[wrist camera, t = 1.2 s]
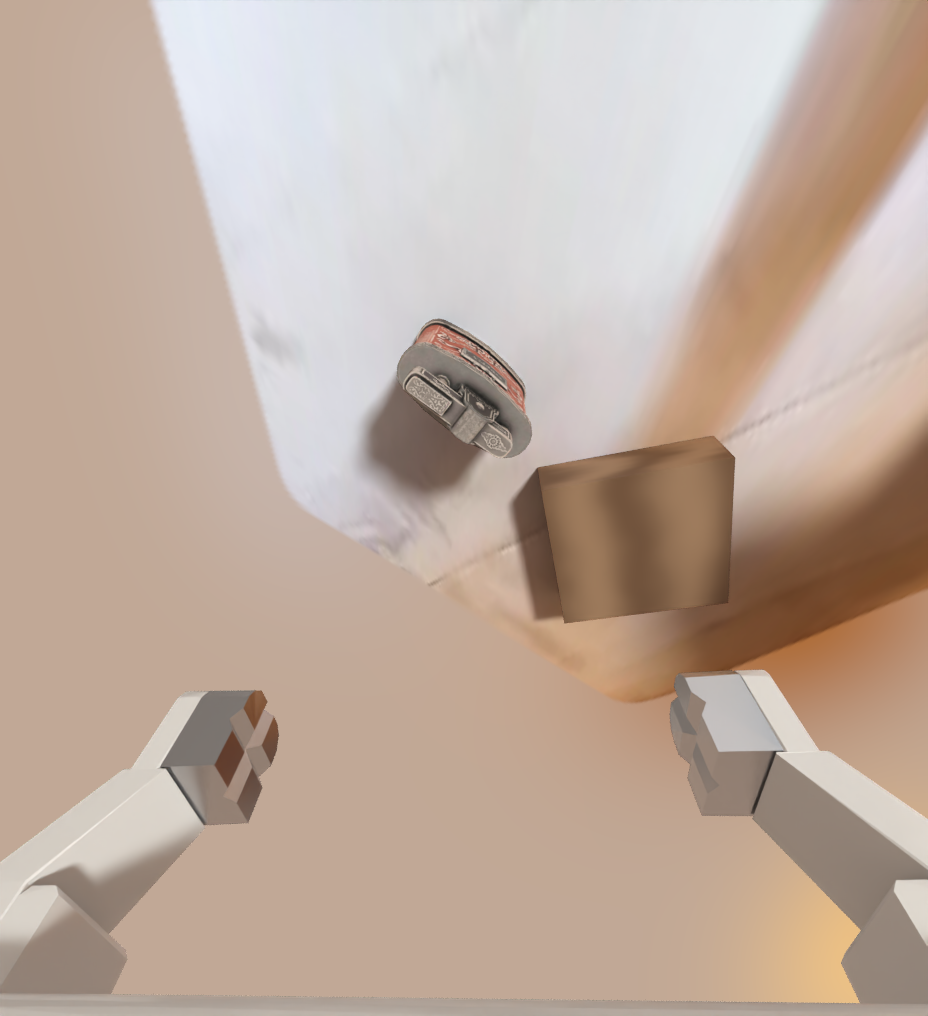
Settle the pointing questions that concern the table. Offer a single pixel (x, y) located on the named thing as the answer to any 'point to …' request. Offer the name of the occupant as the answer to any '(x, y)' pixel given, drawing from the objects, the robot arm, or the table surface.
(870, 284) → the table surface
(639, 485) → the walnut base
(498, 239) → the table surface
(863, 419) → the table surface
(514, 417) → the lighter
